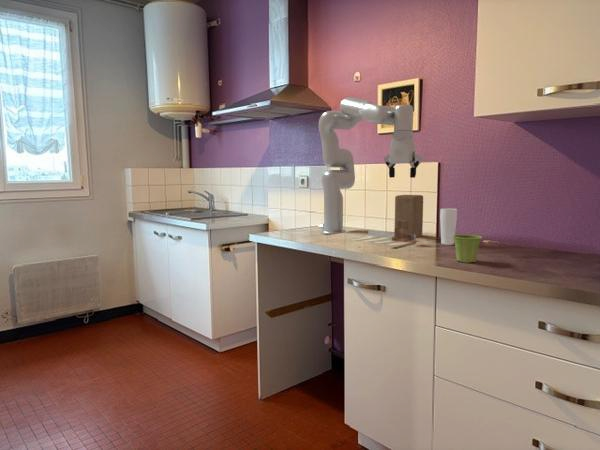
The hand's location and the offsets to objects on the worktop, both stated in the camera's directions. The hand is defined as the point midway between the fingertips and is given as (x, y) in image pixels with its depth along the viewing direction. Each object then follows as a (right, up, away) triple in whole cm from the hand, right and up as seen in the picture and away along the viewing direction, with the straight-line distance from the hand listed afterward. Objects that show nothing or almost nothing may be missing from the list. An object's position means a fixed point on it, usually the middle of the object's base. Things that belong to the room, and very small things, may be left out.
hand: (402, 177), depth 183 cm
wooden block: (+7, -26, +18) cm, 33 cm away
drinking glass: (+20, -28, +2) cm, 35 cm away
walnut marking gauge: (0, -26, +3) cm, 27 cm away
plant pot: (+14, -33, -33) cm, 48 cm away
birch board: (-7, -28, +5) cm, 29 cm away
